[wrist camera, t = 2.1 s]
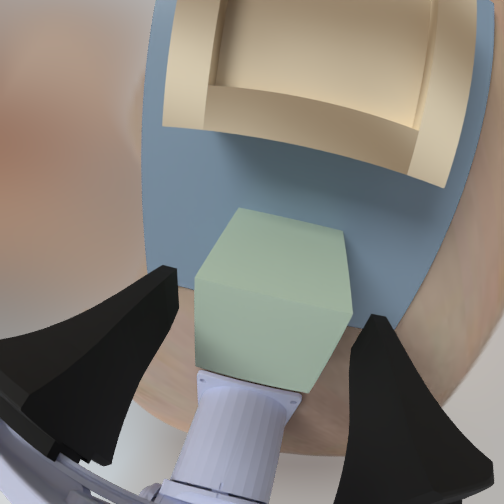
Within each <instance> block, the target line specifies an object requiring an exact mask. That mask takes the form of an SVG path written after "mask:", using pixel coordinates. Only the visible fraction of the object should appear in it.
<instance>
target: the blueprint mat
mask: <svg viewBox="0 0 504 504" xmlns="http://www.w3.org/2000/svg"><path fill="white" fill-rule="evenodd" d="M176 3H177V0H156V3H155V8H154V13H153V19H152V25H151V32H150V39H149V46H148V54H147V63H146V73H145V84H144V98H143V115H142V152H141V168H142V205H143V223H144V238H145V251H146V261H147V271H148V273H150V272H152V271H153V270H155V269H156V268H158V267H160V266H161V265H166V266H169V267H173V268H177V277H178V286H181V287H185V288H189V289H192V290H194V287H195V276H196V274H197V273H198V271H199V269H200V268H201V266H202V265H203V263H204V261H205V260H206V258H207V256H208V255H209V253H210V252H211V250H212V248H213V247H214V245H215V244H216V242H217V241H218V239H219V237H220V236H221V234H222V233H223V231H224V229H225V228H226V226H227V225H228V223H229V222H230V220H231V219H232V217H233V215H234V214H235V212H236V211H237V209H238V208H244V209H249V210H254V211H258V212H263V213H268V214H272V215H277V216H281V217H286V218H290V219H295V220H299V221H303V222H308V223H312V224H316V225H320V226H325V227H329V228H333V229H337V230H341V231H343V235H344V241H345V248H346V255H347V263H348V271H349V279H350V288H351V298H352V309H353V315H352V317H351V319H350V321H349V323H348V325H347V326H351V327H357V328H362V329H363V328H364V326H365V324H366V322H367V320H368V319H369V317H370V315H371V314H376V315H381V316H386V317H387V319H388V321H389V322H390V324H391V326H392V328H393V329H395V328H396V326H397V325H398V323H399V321H400V320H401V318H402V317H403V315H404V313H405V312H406V310H407V308H408V307H409V305H410V303H411V301H412V300H413V298H414V296H415V294H416V293H417V291H418V289H419V287H420V285H421V284H422V282H423V280H424V278H425V276H426V274H427V272H428V270H429V268H430V266H431V264H432V262H433V260H434V258H435V256H436V254H437V252H438V250H439V248H440V246H441V243H442V241H443V239H444V237H445V234H446V232H447V230H448V228H449V225H450V223H451V220H452V218H453V216H454V213H455V211H456V208H457V205H458V203H459V200H460V197H461V195H462V192H463V189H464V186H465V183H466V180H467V177H468V174H469V171H470V168H471V165H472V161H473V158H474V155H475V151H476V147H477V144H478V140H479V136H480V132H481V128H482V123H483V119H484V114H485V109H486V104H487V98H488V92H489V85H490V78H491V70H492V60H493V47H494V3H492V2H491V1H489V0H477V27H476V45H475V56H474V65H473V73H472V80H471V86H470V92H469V98H468V103H467V108H466V113H465V117H464V122H463V126H462V130H461V134H460V138H459V142H458V146H457V149H456V153H455V156H454V160H453V163H452V166H451V170H450V173H449V176H448V179H447V182H446V185H445V188H441V187H439V186H436V185H433V184H431V183H428V182H425V181H423V180H420V179H417V178H414V177H411V176H408V175H405V174H402V173H399V172H396V171H393V170H390V169H387V168H384V167H381V166H377V165H374V164H371V163H367V162H364V161H360V160H357V159H353V158H349V157H346V156H342V155H338V154H334V153H330V152H326V151H322V150H317V149H313V148H309V147H304V146H299V145H295V144H290V143H285V142H280V141H274V140H269V139H263V138H257V137H251V136H245V135H238V134H231V133H224V132H216V131H208V130H199V129H189V128H178V127H165V126H162V121H163V106H164V93H165V82H166V72H167V63H168V55H169V47H170V40H171V33H172V26H173V20H174V14H175V9H176Z"/></svg>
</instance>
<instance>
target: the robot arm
mask: <svg viewBox="0 0 504 504" xmlns="http://www.w3.org/2000/svg"><path fill="white" fill-rule="evenodd" d="M178 309H179V299H178V277H177V268H173V267H169V266H166V265H161V266H160V267H158V268H156V269H155V270H153V271H152V272H150V273H148V274H147V275H145V276H144V277H142V278H141V279H139V280H138V281H136V282H135V283H133V284H131V285H130V286H128V287H127V288H125V289H124V290H122V291H120V292H119V293H117V294H115V295H114V296H112V297H110V298H108V299H107V300H105V301H103V302H102V303H100V304H98V305H96V306H95V307H93V308H91V309H89V310H87V311H85V312H83V313H81V314H79V315H76V316H74V317H73V318H70V319H68V320H65V321H63V322H60V323H57V324H55V325H52V326H50V327H47V328H44V329H41V330H38V331H35V332H32V333H28V334H25V335H20V336H16V337H12V338H6V339H1V340H0V490H1V491H2V493H3V494H4V495H5V497H6V498H7V499H8V500H9V501H10V502H11V503H12V504H110V503H108V502H106V501H103V500H101V499H98V498H96V497H94V496H92V495H91V492H90V490H91V491H93V492H95V493H97V494H98V495H100V496H102V497H104V498H106V499H108V500H110V501H112V502H114V503H116V504H269V500H270V495H271V491H272V487H273V482H274V478H275V473H276V468H277V463H278V458H279V453H280V448H281V443H282V438H283V432H284V427H285V425H286V424H287V422H288V421H289V419H290V418H291V416H292V415H293V413H294V412H295V410H296V408H297V407H298V405H299V404H300V402H301V401H302V395H301V394H299V393H296V392H290V391H285V390H280V389H275V388H271V387H266V386H262V385H257V384H253V383H249V382H245V381H241V380H237V379H233V378H229V377H226V376H222V375H218V374H215V373H211V372H208V371H205V370H200V371H198V374H197V390H198V408H197V411H196V413H195V416H194V419H193V421H192V424H191V426H190V429H189V432H188V434H187V437H186V439H185V442H184V445H183V447H182V450H181V453H180V455H179V458H178V460H177V463H176V465H175V468H174V471H173V473H172V476H171V479H170V480H168V479H164V481H163V483H162V485H161V484H159V483H155V484H153V485H151V486H147V487H146V488H144V489H143V490H142V491H141V492H140V494H139V495H136V494H134V493H131V492H129V491H127V490H125V489H122V488H121V487H119V486H117V485H115V484H113V483H111V482H109V481H107V480H105V479H103V478H101V477H99V476H98V475H96V474H94V473H92V472H91V471H89V470H87V469H85V468H84V467H82V466H80V465H79V464H78V463H79V461H80V459H81V460H83V461H85V462H86V463H90V461H91V460H93V461H94V462H96V463H98V464H100V465H102V466H107V465H110V464H112V459H113V455H114V451H115V448H116V444H117V441H118V437H119V434H120V431H121V428H122V425H123V422H124V419H125V417H126V414H127V411H128V409H129V406H130V404H131V401H132V399H133V396H134V394H135V392H136V389H137V387H138V385H139V382H140V380H141V378H142V376H143V375H144V373H145V371H146V369H147V368H148V366H149V364H150V362H151V361H152V359H153V357H154V356H155V354H156V352H157V351H158V349H159V347H160V346H161V344H162V342H163V341H164V339H165V337H166V335H167V334H168V332H169V330H170V328H171V326H172V323H173V321H174V319H175V317H176V314H177V312H178ZM349 404H350V423H349V436H348V443H347V450H346V456H345V461H344V466H343V471H342V475H341V479H340V483H339V487H338V490H337V494H336V497H335V500H334V503H333V504H462V499H465V498H467V497H469V496H472V495H474V494H477V493H479V492H481V491H483V490H485V489H487V488H489V487H491V486H492V485H493V484H494V473H493V462H492V461H491V460H490V459H489V458H488V457H486V456H485V455H484V454H483V453H482V452H481V451H479V450H478V449H477V448H476V447H475V446H474V445H473V444H472V443H471V442H470V441H469V440H468V439H467V438H466V437H465V436H464V435H463V434H462V432H461V431H460V430H459V429H458V428H457V427H456V426H455V424H454V423H453V422H452V421H451V420H450V418H449V417H448V416H447V415H446V413H445V412H444V411H443V409H442V408H441V407H440V405H439V404H438V402H437V401H436V400H435V398H434V397H433V395H432V394H431V392H430V391H429V389H428V388H427V386H426V385H425V383H424V381H423V380H422V378H421V377H420V375H419V373H418V372H417V370H416V368H415V367H414V365H413V363H412V361H411V360H410V358H409V356H408V354H407V353H406V351H405V349H404V347H403V345H402V344H401V342H400V340H399V338H398V336H397V335H396V333H395V331H394V329H393V328H392V326H391V324H390V322H389V321H388V319H387V317H386V316H381V315H376V314H371V315H370V317H369V319H368V320H367V322H366V324H365V326H364V328H363V329H362V331H361V333H360V335H359V336H358V338H357V340H356V341H355V343H354V345H353V346H352V348H351V355H350V366H349ZM89 489H90V490H89Z"/></svg>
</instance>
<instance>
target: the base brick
mask: <svg viewBox="0 0 504 504" xmlns="http://www.w3.org/2000/svg"><path fill="white" fill-rule="evenodd" d="M476 27H477V0H177V3H176V9H175V14H174V20H173V26H172V33H171V40H170V47H169V55H168V63H167V72H166V82H165V93H164V106H163V121H162V126H165V127H178V128H189V129H199V130H208V131H216V132H224V133H231V134H238V135H245V136H251V137H257V138H263V139H269V140H274V141H280V142H285V143H290V144H295V145H299V146H304V147H309V148H313V149H317V150H322V151H326V152H330V153H334V154H338V155H342V156H346V157H349V158H353V159H357V160H360V161H364V162H367V163H371V164H374V165H377V166H381V167H384V168H387V169H390V170H393V171H396V172H399V173H402V174H405V175H408V176H411V177H414V178H417V179H420V180H423V181H425V182H428V183H431V184H433V185H436V186H439V187H441V188H445V185H446V182H447V179H448V176H449V173H450V170H451V166H452V163H453V160H454V156H455V153H456V149H457V146H458V142H459V138H460V134H461V130H462V126H463V122H464V117H465V113H466V108H467V103H468V98H469V92H470V86H471V80H472V73H473V65H474V56H475V45H476Z"/></svg>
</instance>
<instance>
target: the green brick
mask: <svg viewBox="0 0 504 504" xmlns="http://www.w3.org/2000/svg"><path fill="white" fill-rule="evenodd" d="M194 315H195V363H196V366H197V367H200V368H203V369H207V370H210V371H213V372H217V373H221V374H224V375H228V376H232V377H235V378H239V379H243V380H247V381H251V382H256V383H260V384H264V385H269V386H273V387H278V388H283V389H288V390H293V391H299V392H304V393H309V392H310V390H311V389H312V387H313V386H314V384H315V382H316V381H317V379H318V377H319V376H320V374H321V372H322V370H323V369H324V367H325V365H326V364H327V362H328V360H329V358H330V357H331V355H332V353H333V351H334V349H335V348H336V346H337V344H338V342H339V340H340V338H341V336H342V335H343V333H344V331H345V329H346V327H347V325H348V323H349V321H350V319H351V317H352V315H353V309H352V298H351V288H350V279H349V271H348V263H347V255H346V248H345V241H344V235H343V231H341V230H337V229H333V228H329V227H325V226H320V225H316V224H312V223H308V222H303V221H299V220H295V219H290V218H286V217H281V216H277V215H272V214H268V213H263V212H258V211H254V210H249V209H244V208H238V209H237V211H236V212H235V214H234V215H233V217H232V219H231V220H230V222H229V223H228V225H227V226H226V228H225V229H224V231H223V233H222V234H221V236H220V237H219V239H218V241H217V242H216V244H215V245H214V247H213V248H212V250H211V252H210V253H209V255H208V256H207V258H206V260H205V261H204V263H203V265H202V266H201V268H200V269H199V271H198V273H197V274H196V276H195V287H194Z"/></svg>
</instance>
